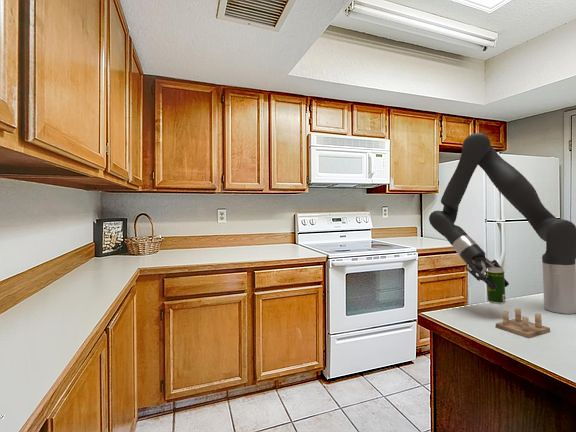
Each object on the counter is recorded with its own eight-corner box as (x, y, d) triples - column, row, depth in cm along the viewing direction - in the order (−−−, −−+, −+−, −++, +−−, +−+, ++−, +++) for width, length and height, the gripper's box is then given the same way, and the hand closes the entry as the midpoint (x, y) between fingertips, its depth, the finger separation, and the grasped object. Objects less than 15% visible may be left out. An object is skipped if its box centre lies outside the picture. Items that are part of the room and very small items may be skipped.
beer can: (507, 301, 112) (505, 267, 111) (504, 305, 108) (502, 270, 107) (489, 299, 115) (487, 266, 115) (486, 303, 111) (484, 269, 111)
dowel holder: (516, 321, 106) (515, 306, 106) (550, 331, 97) (549, 315, 97) (495, 327, 103) (495, 311, 102) (528, 338, 93) (528, 320, 93)
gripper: (460, 245, 116) (493, 284, 105) (487, 241, 121) (522, 278, 110) (448, 258, 121) (479, 296, 110) (475, 253, 126) (507, 290, 115)
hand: (500, 287), depth 110 cm, fingers closed on beer can, 5 cm apart
